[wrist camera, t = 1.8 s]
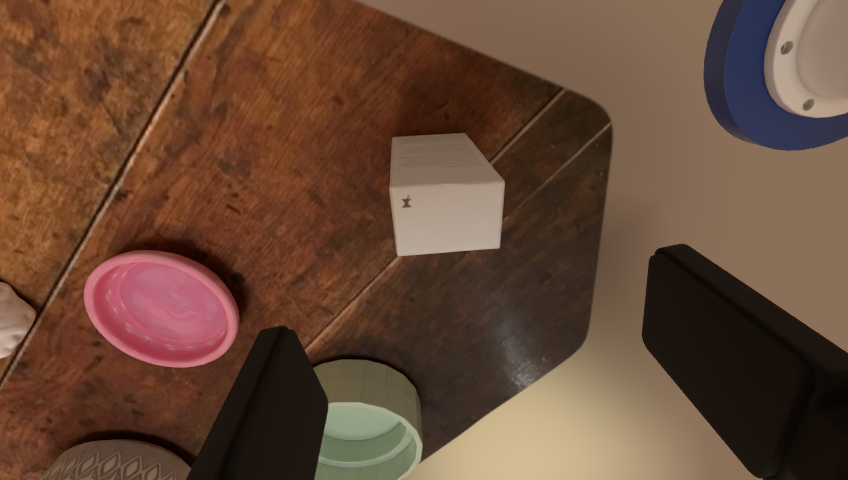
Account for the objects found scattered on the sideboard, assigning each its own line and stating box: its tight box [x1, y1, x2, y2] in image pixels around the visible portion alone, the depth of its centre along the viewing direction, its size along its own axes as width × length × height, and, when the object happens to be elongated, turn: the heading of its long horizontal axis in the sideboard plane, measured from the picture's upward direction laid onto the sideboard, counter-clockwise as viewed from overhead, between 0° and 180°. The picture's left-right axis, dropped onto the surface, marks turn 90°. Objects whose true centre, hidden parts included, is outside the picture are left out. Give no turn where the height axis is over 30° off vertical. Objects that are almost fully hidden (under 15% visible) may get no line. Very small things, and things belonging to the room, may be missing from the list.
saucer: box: [84, 250, 240, 367], centre depth 33 cm, size 12×12×3 cm
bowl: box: [313, 359, 423, 480], centre depth 40 cm, size 15×15×6 cm
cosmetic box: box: [389, 133, 505, 256], centre depth 25 cm, size 6×4×12 cm
